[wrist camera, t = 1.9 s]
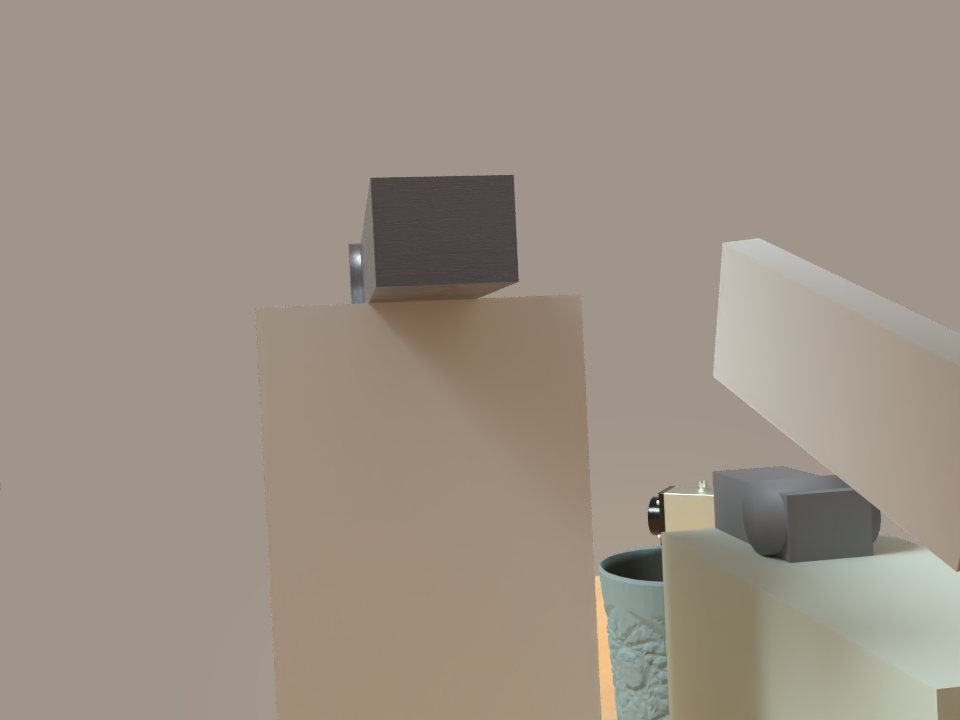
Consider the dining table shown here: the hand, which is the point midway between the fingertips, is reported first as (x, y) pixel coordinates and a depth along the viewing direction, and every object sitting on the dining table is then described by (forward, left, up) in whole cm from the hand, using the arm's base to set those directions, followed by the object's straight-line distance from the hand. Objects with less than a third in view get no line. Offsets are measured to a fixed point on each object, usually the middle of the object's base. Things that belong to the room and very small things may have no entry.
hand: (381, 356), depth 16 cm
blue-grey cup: (0, +51, -28) cm, 58 cm away
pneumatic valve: (+1, +88, -28) cm, 92 cm away
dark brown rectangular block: (-6, +18, +2) cm, 19 cm away
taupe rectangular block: (-8, +22, -28) cm, 36 cm away
